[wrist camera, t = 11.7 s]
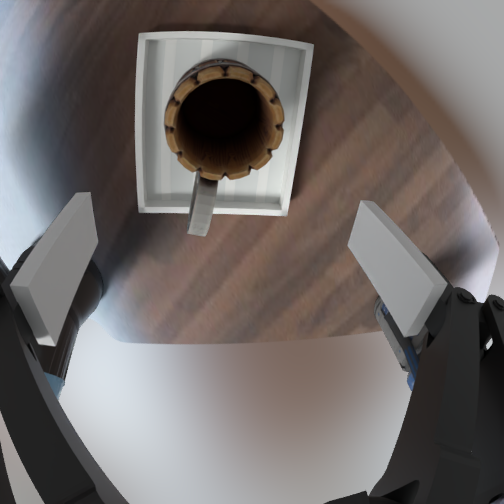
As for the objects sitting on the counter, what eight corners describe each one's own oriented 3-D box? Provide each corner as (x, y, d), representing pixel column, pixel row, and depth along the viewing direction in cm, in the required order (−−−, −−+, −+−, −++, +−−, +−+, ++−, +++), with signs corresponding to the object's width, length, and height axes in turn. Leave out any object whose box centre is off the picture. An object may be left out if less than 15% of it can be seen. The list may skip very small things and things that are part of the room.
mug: (185, 49, 27) (167, 37, 15) (277, 71, 30) (322, 78, 18) (156, 175, 35) (130, 241, 23) (239, 190, 38) (256, 262, 26)
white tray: (143, 202, 38) (138, 212, 36) (144, 35, 26) (138, 33, 24) (282, 205, 41) (286, 216, 39) (306, 45, 29) (314, 44, 27)
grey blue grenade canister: (386, 269, 51) (457, 382, 31) (424, 287, 56) (485, 381, 35) (353, 308, 55) (405, 422, 35) (394, 320, 60) (443, 415, 40)
